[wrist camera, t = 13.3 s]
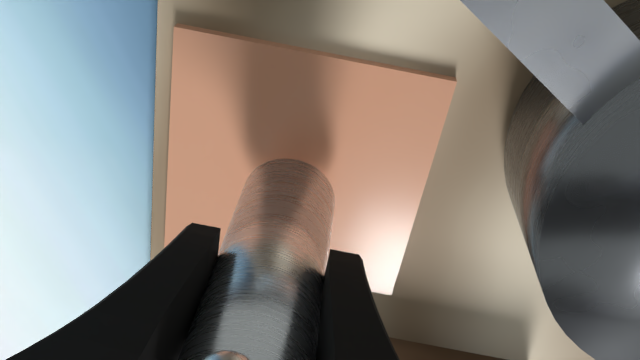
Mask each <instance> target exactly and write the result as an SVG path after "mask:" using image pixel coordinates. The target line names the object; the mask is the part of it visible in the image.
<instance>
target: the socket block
mask: <svg viewBox="0 0 640 360" xmlns="http://www.w3.org/2000/svg"><path fill="white" fill-rule="evenodd" d="M389 338H390V341H391V343H392V345H393V347H394V349H395V351H396V353H397V355H398V357H399V359H400V360H507V359H502V358H496V357H491V356H486V355H480V354H475V353H470V352H465V351H459V350H454V349H449V348H443V347H438V346H433V345H428V344H422V343H417V342H412V341H406V340H401V339H396V338H391V337H389Z"/></svg>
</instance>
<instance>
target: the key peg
mask: <svg viewBox="0 0 640 360" xmlns="http://www.w3.org/2000/svg"><path fill="white" fill-rule="evenodd" d="M334 207H335V195H334V191H333V188H332V186H331V184H330V182H329V180H328V179H327V178H326V176H325V175H324V174H323V173H322V172H321V171H319V170H318V169H317V168H315V167H314V166H312V165H310V164H308V163H306V162H303V161H300V160H296V159H288V158H283V159H275V160H271V161H268V162H265V163H263V164H261V165H260V166H258V167H257V168H256V169H254V170H253V171H252V173H251V174H250V175H249V176H248V178H247V180H246V182H245V184H244V187H243V190H242V192H241V195H240V198H239V200H238V203H237V205H236V208H235V211H234V213H233V216H232V219H231V221H230V224H229V226H228V229H227V232H226V234H225V237H224V240H223V242H222V245H221V247H220V250H219V253H218V257H217V259H216V262H215V265H214V267H213V270H212V273H211V275H210V278H209V280H208V283H207V286H206V288H205V291H204V293H203V296H202V298H201V301H200V303H199V306H198V308H197V310H196V313H195V316H194V318H193V321H192V324H191V326H190V329H189V331H188V334H187V337H186V339H185V342H184V345H183V347H182V350H181V352H180V355H179V358H178V360H316V354H317V345H318V335H319V318H320V305H321V297H322V289H323V281H324V275H325V270H326V266H327V261H328V256H329V248H330V239H331V231H332V223H333V215H334Z"/></svg>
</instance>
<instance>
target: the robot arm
mask: <svg viewBox="0 0 640 360" xmlns="http://www.w3.org/2000/svg"><path fill="white" fill-rule="evenodd" d="M220 231H221V228H217V227H212V226H207V225H202V224H196V223H191V224H189V225H188V226H186V227H185V228H184V229H183V230H182V231H181V232H180V233H179V234H178V235H177V236H176V237H175V238H174V239H173V240H172V241H171V242H170V243H169V244H168V245H167V246H166V247H165V248H164V249H163V250H162V251H161V252H160V253H159V254H157V255H156V256H155V257H154V258H153V259H152V260H151V261H150V262H148V263H147V264H146V265H145V266H144V267H143V268H142V269H140V270H139V271H138V272H137V273H136V274H135V275H133V276H132V277H131V278H130V279H129V280H127V281H126V282H125V283H124V284H122V285H121V286H120V287H118V288H117V289H116V290H115V291H113V292H112V293H111V294H109V295H108V296H107V297H105V298H104V299H103V300H101V301H100V302H99V303H98V304H96V305H95V306H93V307H92V308H91V309H89V310H88V311H86V312H85V313H83V314H82V315H80V316H79V317H77V318H76V319H74V320H73V321H71V322H70V323H68V324H67V325H65V326H64V327H62V328H60V329H59V330H57V331H56V332H54V333H52V334H51V335H49V336H47V337H46V338H44V339H42V340H40V341H39V342H37V343H35V344H33V345H32V346H30V347H28V348H26V349H25V350H23V351H21V352H19V353H17V354H15V355H14V356H12V357H10V358H8V359H6V360H178V358H179V355H180V352H181V350H182V347H183V345H184V342H185V339H186V337H187V334H188V331H189V329H190V326H191V324H192V321H193V318H194V316H195V313H196V310H197V308H198V306H199V303H200V301H201V298H202V296H203V293H204V291H205V288H206V286H207V283H208V280H209V278H210V275H211V273H212V270H213V267H214V265H215V262H216V259H217V257H218V250H219V240H220ZM316 360H400V359H399V357H398V355H397V353H396V351H395V349H394V347H393V345H392V343H391V341H390V338H389V336H388V334H387V331H386V329H385V327H384V324H383V322H382V319H381V317H380V314H379V312H378V309H377V307H376V304H375V301H374V298H373V295H372V292H371V289H370V286H369V283H368V280H367V276H366V272H365V268H364V264H363V260H362V258H361V257H360V255H359V254H354V253H348V252H343V251H338V250H333V249H330V252H329V257H328V261H327V266H326V270H325V275H324V281H323V289H322V297H321V305H320V318H319V335H318V345H317V354H316Z"/></svg>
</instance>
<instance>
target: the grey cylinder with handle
mask: <svg viewBox="0 0 640 360" xmlns="http://www.w3.org/2000/svg"><path fill="white" fill-rule="evenodd" d="M460 1H461V2H462V3H463V4H464V5H465V6H466V7H467V8H468V9H469V10H470V11H471V12H472V13H473V14H474V15H475V16H476V17H477V18H478V19H479V20H480V21H481V22H482V23H483V24H484V25H485V26H486V27H487V28H488V29H489V30H490V31H491V32H492V33H493V34H494V35H495V36H496V37H497V38H498V39H499V40H500V41H501V42H502V43H503V44H504V45H505V46H506V47H507V48H508V49H509V50H510V51H511V52H512V53H513V54H514V55H515V56H516V57H517V58H518V59H519V60H520V61H521V62H522V63H523V64H524V65H525V66H526V67H527V68H528V69H529V70H530V71H531V72H532V73H533V74H534V76H533V78H532V79H531V81H530V82H529V84H528V85H527V87H526V88H525V90H524V91H523V93H522V95H521V97H520V99H519V102H518V104H517V106H516V108H515V110H514V112H513V115H512V118H511V121H510V124H509V127H508V131H507V136H506V142H505V147H504V173H505V181H506V186H507V189H508V193H509V196H510V199H511V202H512V205H513V208H514V211H515V214H516V217H517V220H518V222H519V225H520V228H521V231H522V234H523V237H524V240H525V243H526V245H527V248H528V251H529V254H530V257H531V260H532V263H533V266H534V268H535V271H536V274H537V277H538V280H539V283H540V286H541V289H542V291H543V294H544V297H545V300H546V303H547V305H548V307H549V309H550V311H551V313H552V315H553V317H554V319H555V321H556V322H557V323H558V325H559V326H560V327H561V329H562V330H563V331H564V333H565V334H566V335H567V336H568V337H569V338H570V339H571V340H572V341H573V342H574V343H575V344H576V345H577V346H578V347H579V348H580V349H581V350H583V351H584V352H585V353H587V354H588V355H590V356H591V357H592V358H594V359H595V360H640V0H627V1H625V2H623V3H621V4H619V5H617V6H615V7H612V8H610V7H609V6H608V4H607V3H606V2H605V1H604V0H460Z"/></svg>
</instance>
